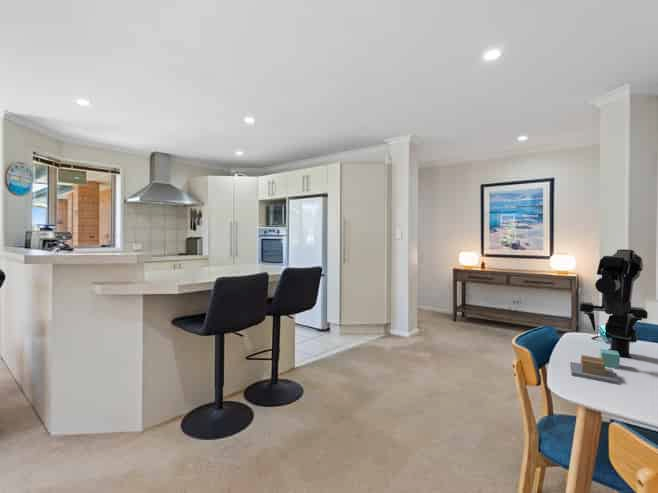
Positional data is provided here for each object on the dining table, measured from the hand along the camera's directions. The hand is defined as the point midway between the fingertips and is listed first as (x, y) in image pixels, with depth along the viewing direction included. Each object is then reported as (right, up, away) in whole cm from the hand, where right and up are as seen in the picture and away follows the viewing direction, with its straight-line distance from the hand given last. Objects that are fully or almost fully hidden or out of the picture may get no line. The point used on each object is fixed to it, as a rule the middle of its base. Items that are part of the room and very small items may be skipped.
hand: (610, 333), depth 124 cm
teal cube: (0, -12, +1) cm, 12 cm away
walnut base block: (-12, -12, -7) cm, 19 cm away
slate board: (-12, -12, -7) cm, 19 cm away
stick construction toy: (+20, -11, +28) cm, 37 cm away
